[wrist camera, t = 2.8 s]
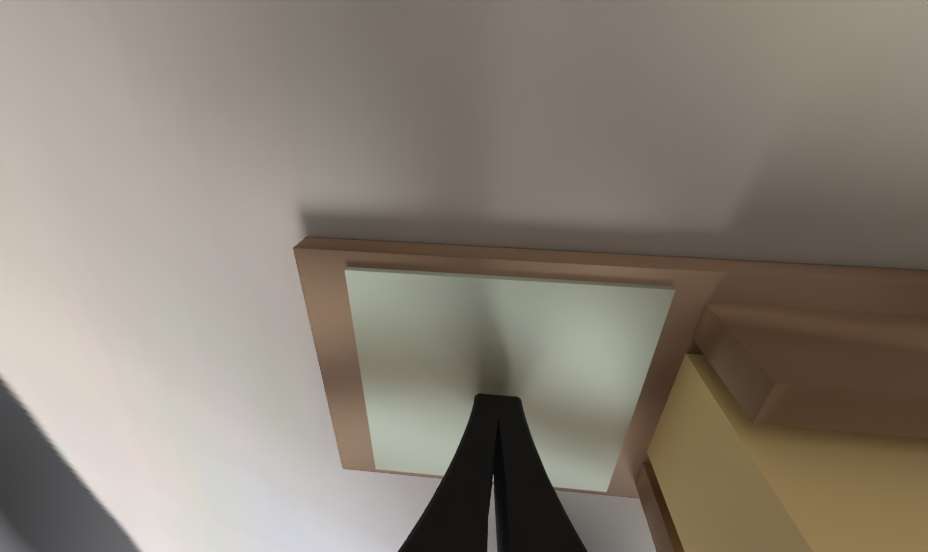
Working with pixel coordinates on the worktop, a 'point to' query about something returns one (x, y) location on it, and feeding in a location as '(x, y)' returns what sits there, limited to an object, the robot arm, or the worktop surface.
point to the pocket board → (600, 351)
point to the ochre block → (782, 478)
